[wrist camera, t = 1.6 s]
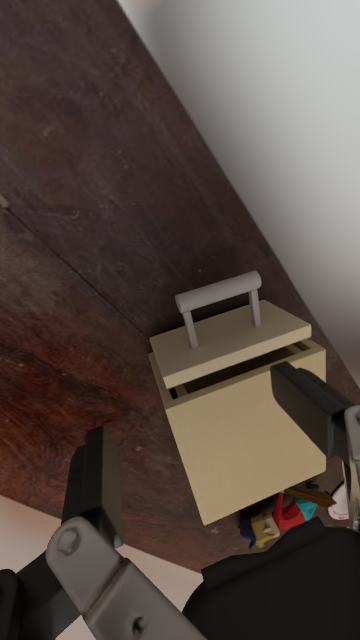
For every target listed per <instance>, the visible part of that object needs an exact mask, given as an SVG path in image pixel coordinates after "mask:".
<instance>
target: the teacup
mask: <svg viewBox="0 0 360 640" xmlns="http://www.w3.org/2000/svg"><path fill="white" fill-rule="evenodd" d="M332 498H333V500H335V501H336V502H337V504H335V505H333V506H331V507H329V508H328V512H329V514H330V516H332V517H333V518H334V519H338V520H342V519H348V518H349V514H348V505H347V497H346V489H345V483H344V484H343V485H341V486H340V487H339V488H338V489H337V491H336V492H335V493H334V494H333V496H332Z"/></svg>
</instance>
